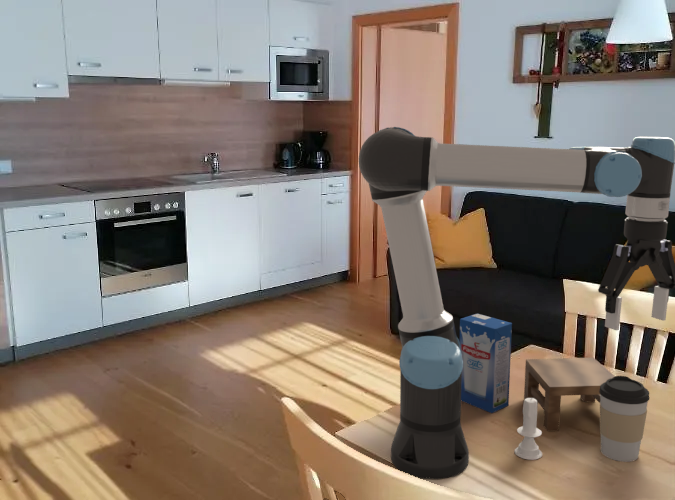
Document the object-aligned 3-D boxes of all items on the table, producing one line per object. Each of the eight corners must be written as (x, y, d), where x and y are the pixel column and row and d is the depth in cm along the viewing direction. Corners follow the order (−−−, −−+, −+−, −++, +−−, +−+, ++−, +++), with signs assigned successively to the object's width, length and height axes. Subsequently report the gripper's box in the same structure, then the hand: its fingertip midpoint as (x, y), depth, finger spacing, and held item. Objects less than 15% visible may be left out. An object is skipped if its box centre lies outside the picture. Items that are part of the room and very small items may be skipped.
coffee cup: (649, 466, 128) (655, 393, 125) (599, 462, 130) (604, 390, 127) (638, 444, 137) (644, 374, 134) (591, 440, 138) (596, 371, 135)
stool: (547, 431, 143) (549, 387, 141) (523, 399, 158) (525, 359, 156) (621, 428, 143) (624, 384, 141) (590, 397, 159) (593, 357, 157)
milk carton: (457, 399, 159) (459, 318, 155) (474, 392, 163) (477, 313, 159) (492, 413, 151) (495, 329, 147) (508, 405, 155) (512, 323, 151)
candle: (547, 453, 133) (550, 397, 131) (532, 463, 130) (535, 405, 127) (524, 444, 137) (526, 389, 135) (509, 453, 134) (511, 397, 131)
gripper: (617, 225, 120) (606, 338, 125) (705, 216, 132) (693, 319, 136) (584, 219, 127) (575, 326, 131) (671, 211, 138) (660, 310, 142)
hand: (635, 323), depth 134 cm, fingers open, 13 cm apart
